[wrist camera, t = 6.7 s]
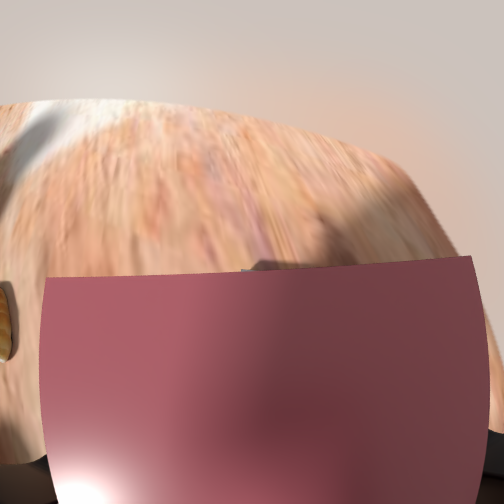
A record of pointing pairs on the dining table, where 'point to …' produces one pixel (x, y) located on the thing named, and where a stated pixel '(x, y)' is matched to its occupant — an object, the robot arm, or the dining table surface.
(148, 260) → the dining table surface
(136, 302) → the red rectangular block
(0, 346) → the pastry
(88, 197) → the dining table surface
